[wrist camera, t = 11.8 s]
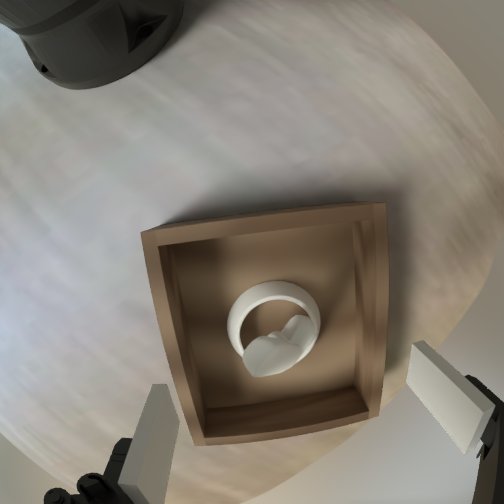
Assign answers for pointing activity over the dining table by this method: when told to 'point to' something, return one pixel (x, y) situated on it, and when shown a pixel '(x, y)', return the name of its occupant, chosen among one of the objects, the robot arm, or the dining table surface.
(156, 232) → the wooden tray
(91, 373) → the dining table surface
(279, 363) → the hook
